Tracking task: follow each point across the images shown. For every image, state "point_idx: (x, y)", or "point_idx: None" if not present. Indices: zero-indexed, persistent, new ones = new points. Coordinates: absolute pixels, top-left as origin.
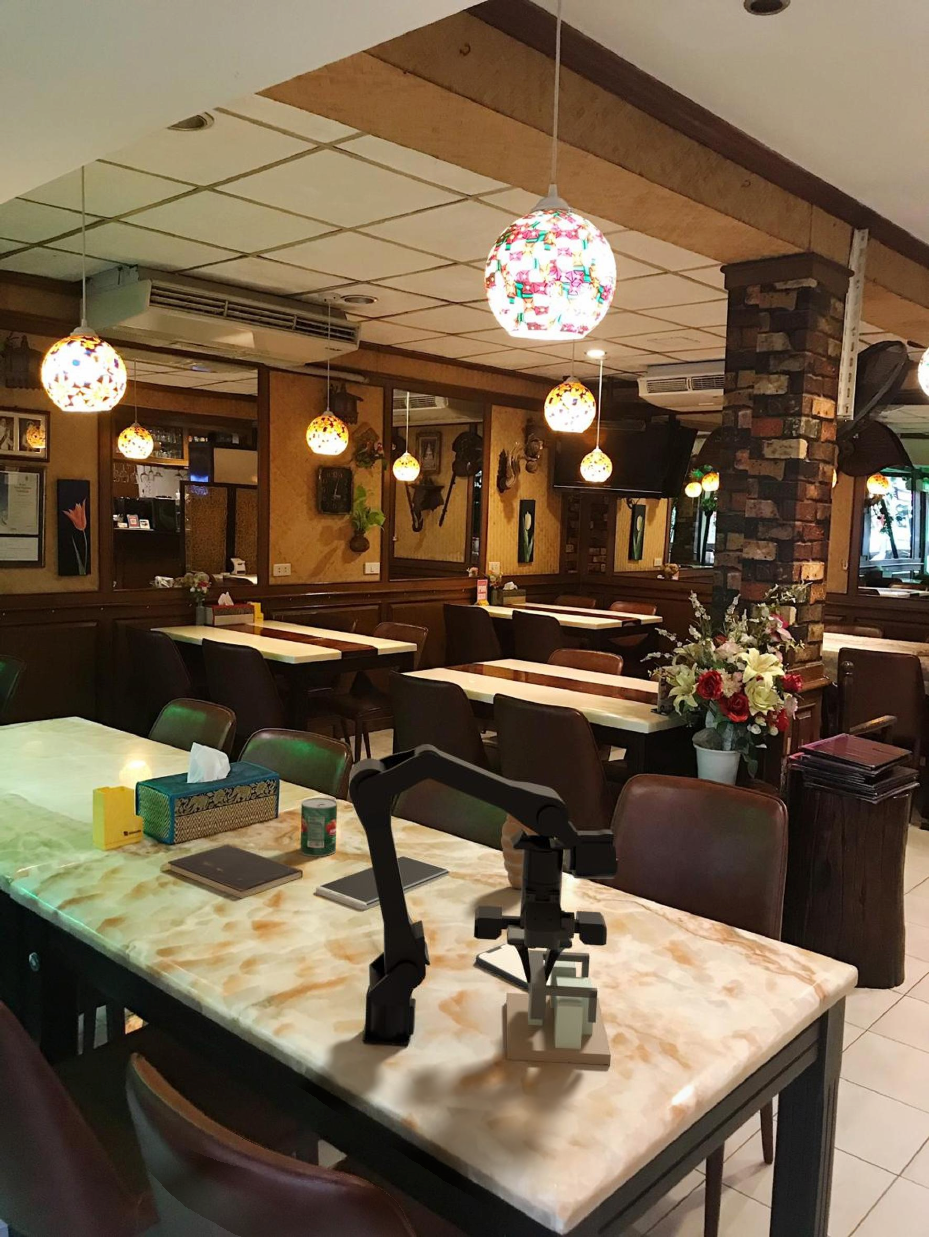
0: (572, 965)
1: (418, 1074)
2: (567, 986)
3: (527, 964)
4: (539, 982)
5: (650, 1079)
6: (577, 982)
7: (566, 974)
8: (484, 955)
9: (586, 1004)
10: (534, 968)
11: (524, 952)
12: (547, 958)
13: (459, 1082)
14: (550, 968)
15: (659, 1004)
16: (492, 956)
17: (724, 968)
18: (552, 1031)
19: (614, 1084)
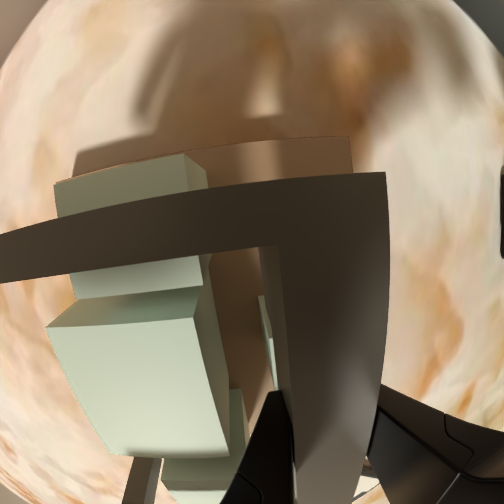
0: (182, 497)
1: (470, 83)
2: (102, 266)
3: (413, 421)
4: (334, 275)
5: (7, 157)
6: (138, 429)
7: (195, 468)
8: (370, 485)
9: (84, 313)
10: (350, 434)
11: (482, 456)
12: (293, 501)
13: (410, 51)
14: (259, 449)
15: (52, 429)
16: (358, 489)
17: (35, 483)
18: (222, 268)
19: (66, 105)
